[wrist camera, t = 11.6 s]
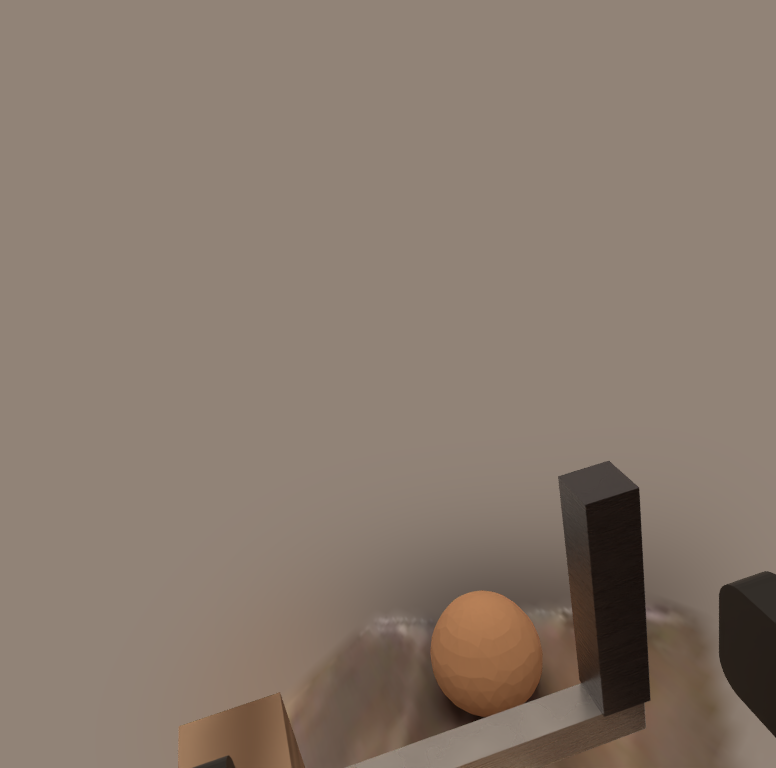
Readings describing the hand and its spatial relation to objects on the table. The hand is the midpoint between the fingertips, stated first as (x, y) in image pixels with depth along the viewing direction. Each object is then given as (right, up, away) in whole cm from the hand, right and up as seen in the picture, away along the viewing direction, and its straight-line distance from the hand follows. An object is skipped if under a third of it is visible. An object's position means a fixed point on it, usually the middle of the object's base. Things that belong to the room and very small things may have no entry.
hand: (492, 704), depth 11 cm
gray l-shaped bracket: (+2, -14, +24) cm, 28 cm away
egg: (+6, -17, +39) cm, 43 cm away
